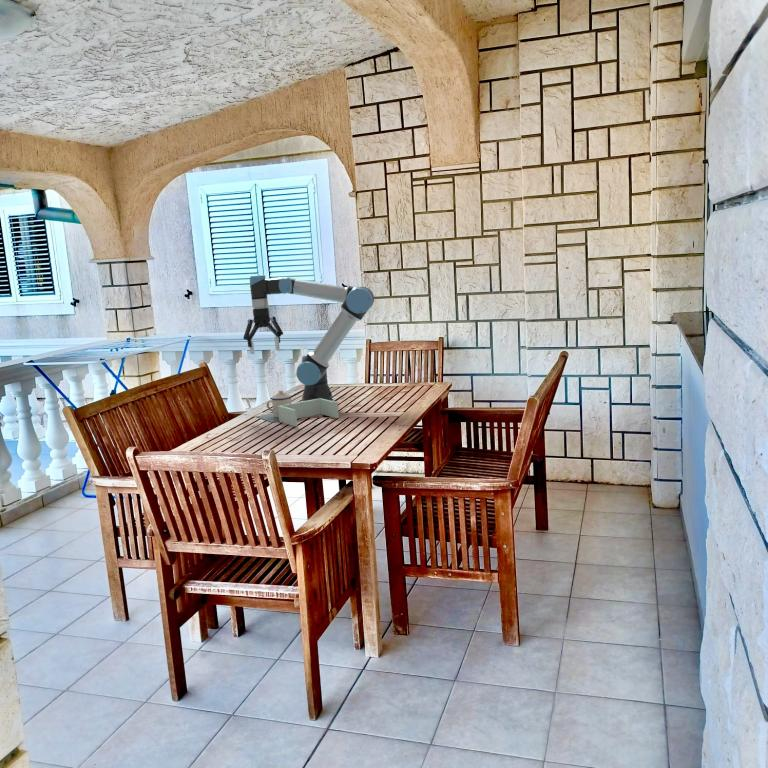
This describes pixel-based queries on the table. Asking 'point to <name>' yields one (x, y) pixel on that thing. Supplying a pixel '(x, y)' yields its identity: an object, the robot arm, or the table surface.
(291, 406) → the bent sage-green plate
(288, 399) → the teacup with lid
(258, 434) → the table surface
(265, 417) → the mat
